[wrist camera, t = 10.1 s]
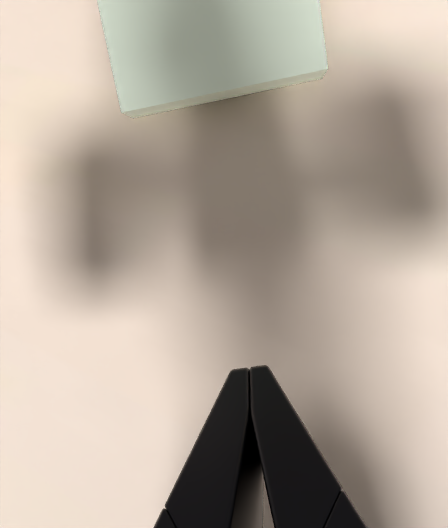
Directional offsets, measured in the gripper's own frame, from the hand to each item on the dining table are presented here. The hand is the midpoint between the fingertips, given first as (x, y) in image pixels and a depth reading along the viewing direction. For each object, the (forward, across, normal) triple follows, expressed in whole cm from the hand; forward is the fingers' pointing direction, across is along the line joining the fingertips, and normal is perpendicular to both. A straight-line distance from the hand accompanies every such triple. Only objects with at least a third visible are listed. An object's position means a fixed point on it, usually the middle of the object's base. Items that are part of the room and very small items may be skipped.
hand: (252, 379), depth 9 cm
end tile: (+15, 0, -3) cm, 16 cm away
